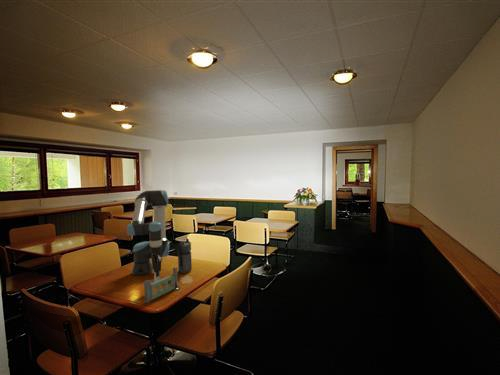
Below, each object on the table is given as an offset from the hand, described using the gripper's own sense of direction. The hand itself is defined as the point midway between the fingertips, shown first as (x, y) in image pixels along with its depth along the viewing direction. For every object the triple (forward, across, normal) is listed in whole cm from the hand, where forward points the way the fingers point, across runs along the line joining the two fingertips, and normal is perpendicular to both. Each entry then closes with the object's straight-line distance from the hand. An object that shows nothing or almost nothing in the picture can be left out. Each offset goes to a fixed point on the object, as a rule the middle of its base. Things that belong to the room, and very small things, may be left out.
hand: (157, 280), depth 164 cm
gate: (+5, +11, -1) cm, 12 cm away
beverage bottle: (+7, -15, +28) cm, 32 cm away
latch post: (+5, +13, -11) cm, 18 cm away
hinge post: (+6, +8, +9) cm, 14 cm away
